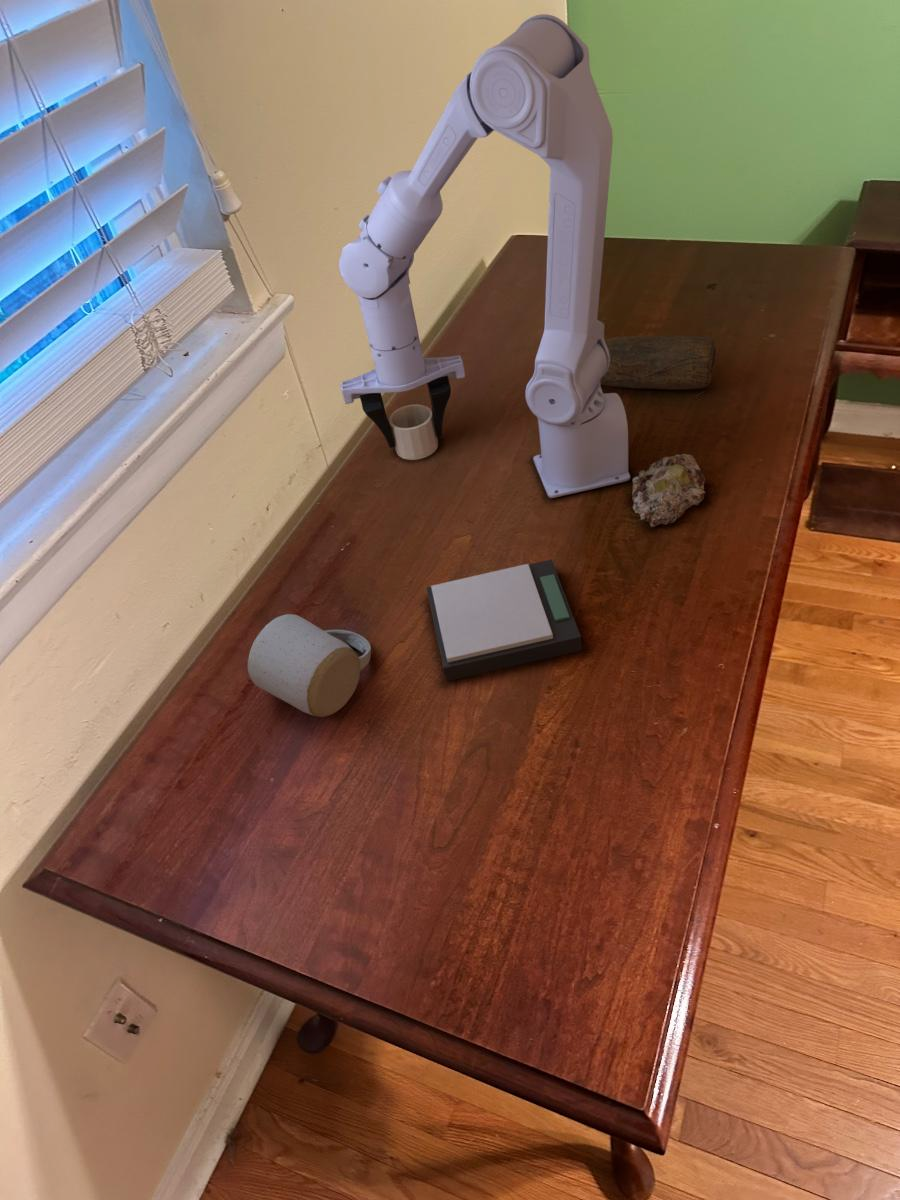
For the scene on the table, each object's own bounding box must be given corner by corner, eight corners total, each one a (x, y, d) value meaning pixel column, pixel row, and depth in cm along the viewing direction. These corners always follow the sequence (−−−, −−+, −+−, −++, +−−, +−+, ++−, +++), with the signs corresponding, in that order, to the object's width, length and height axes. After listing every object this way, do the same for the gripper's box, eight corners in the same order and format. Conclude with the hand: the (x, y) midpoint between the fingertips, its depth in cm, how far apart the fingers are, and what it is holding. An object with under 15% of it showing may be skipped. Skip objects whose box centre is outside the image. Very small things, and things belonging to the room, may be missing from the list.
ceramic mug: (323, 737, 77) (301, 683, 72) (260, 703, 81) (234, 649, 76) (394, 659, 83) (378, 604, 77) (332, 630, 87) (313, 576, 81)
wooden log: (714, 370, 109) (718, 321, 104) (711, 400, 104) (715, 351, 99) (597, 369, 113) (595, 322, 108) (588, 398, 108) (586, 351, 104)
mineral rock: (642, 445, 96) (711, 441, 91) (652, 476, 99) (720, 473, 94) (607, 506, 90) (679, 505, 85) (619, 537, 93) (690, 537, 88)
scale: (552, 573, 87) (551, 554, 86) (582, 650, 80) (580, 632, 78) (429, 601, 87) (425, 583, 86) (446, 681, 80) (442, 663, 78)
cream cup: (434, 430, 109) (428, 400, 106) (441, 454, 105) (435, 423, 102) (393, 439, 109) (386, 410, 106) (398, 464, 105) (391, 433, 102)
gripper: (450, 308, 99) (466, 407, 109) (329, 335, 99) (355, 433, 109) (460, 336, 94) (476, 438, 104) (332, 365, 94) (360, 464, 104)
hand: (415, 437), depth 106 cm, fingers closed on cream cup, 5 cm apart
